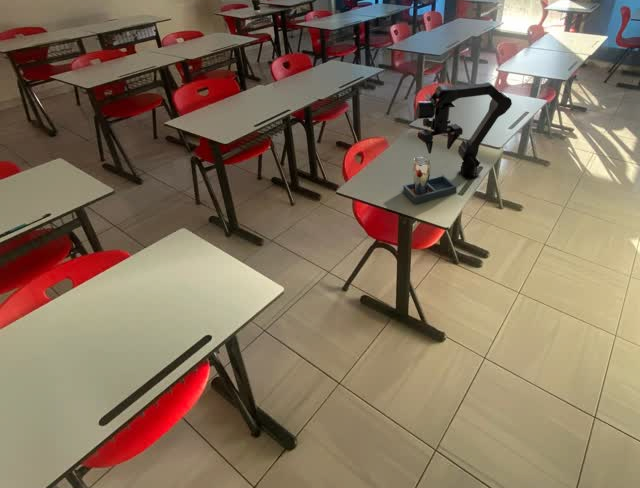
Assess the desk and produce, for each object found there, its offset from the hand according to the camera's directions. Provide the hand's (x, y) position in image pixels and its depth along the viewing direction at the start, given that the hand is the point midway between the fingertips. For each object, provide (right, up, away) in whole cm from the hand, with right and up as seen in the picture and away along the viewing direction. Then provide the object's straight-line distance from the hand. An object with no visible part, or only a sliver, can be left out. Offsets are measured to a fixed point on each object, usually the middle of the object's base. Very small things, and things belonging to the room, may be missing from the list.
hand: (438, 151), depth 176 cm
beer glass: (-8, -18, -5) cm, 20 cm away
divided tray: (-4, -17, -4) cm, 18 cm away
